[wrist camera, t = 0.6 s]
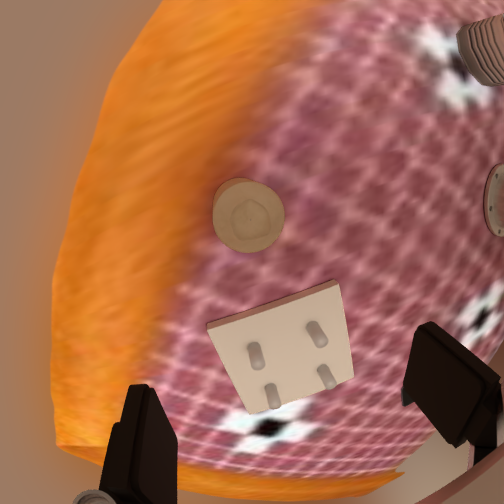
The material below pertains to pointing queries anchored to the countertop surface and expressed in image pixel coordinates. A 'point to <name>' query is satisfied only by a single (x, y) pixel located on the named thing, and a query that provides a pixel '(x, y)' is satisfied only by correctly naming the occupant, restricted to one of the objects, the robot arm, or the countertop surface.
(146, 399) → the robot arm
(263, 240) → the candle
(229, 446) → the countertop surface
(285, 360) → the plate
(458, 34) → the can
